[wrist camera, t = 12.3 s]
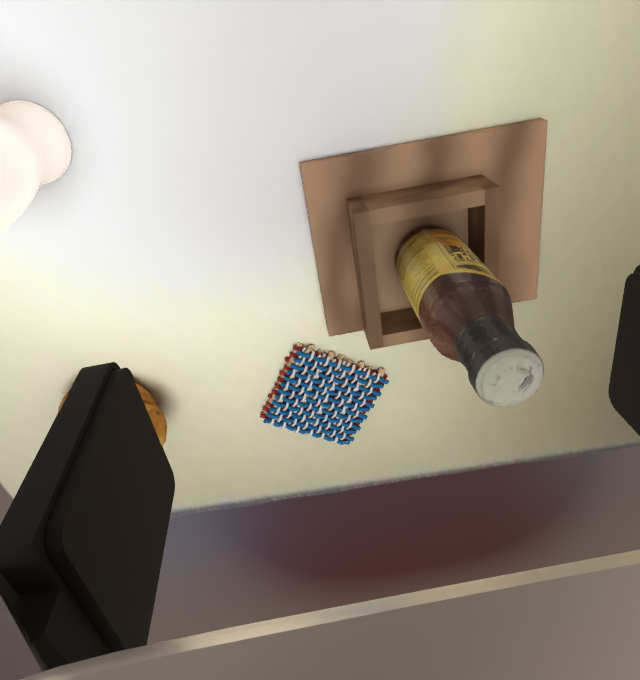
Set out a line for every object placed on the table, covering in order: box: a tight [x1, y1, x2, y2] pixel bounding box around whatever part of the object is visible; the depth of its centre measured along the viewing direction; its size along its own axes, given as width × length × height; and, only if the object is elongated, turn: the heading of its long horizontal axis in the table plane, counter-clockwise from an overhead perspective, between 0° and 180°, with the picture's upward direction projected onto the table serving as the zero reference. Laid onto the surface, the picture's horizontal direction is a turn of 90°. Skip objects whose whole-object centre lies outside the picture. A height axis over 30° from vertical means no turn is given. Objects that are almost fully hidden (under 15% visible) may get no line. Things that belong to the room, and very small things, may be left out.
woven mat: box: [260, 342, 389, 445], centre depth 55 cm, size 10×11×2 cm
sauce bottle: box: [395, 226, 544, 407], centre depth 39 cm, size 6×6×20 cm
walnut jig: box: [299, 118, 548, 350], centre depth 45 cm, size 20×16×5 cm
